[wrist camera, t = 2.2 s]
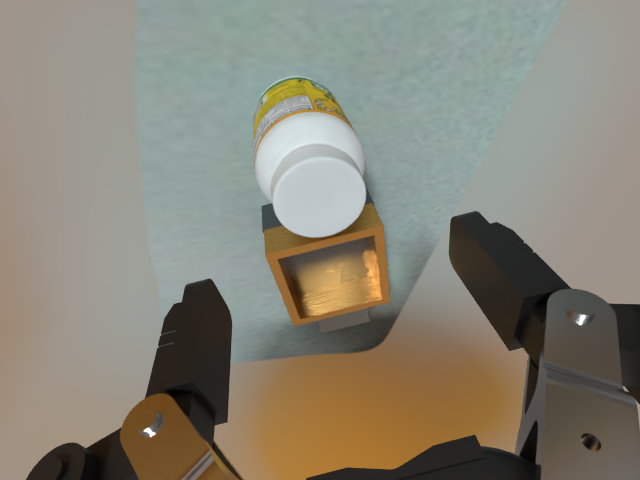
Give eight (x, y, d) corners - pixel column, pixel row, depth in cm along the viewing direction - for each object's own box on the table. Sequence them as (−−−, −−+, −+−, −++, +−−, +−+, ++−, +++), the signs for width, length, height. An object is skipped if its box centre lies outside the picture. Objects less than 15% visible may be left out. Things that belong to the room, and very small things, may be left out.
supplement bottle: (238, 95, 20) (229, 172, 13) (322, 58, 20) (363, 115, 12) (276, 171, 24) (287, 265, 16) (349, 140, 23) (394, 224, 16)
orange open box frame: (261, 206, 25) (263, 255, 21) (362, 180, 25) (384, 225, 21) (294, 294, 32) (300, 345, 28) (374, 274, 32) (393, 322, 27)
